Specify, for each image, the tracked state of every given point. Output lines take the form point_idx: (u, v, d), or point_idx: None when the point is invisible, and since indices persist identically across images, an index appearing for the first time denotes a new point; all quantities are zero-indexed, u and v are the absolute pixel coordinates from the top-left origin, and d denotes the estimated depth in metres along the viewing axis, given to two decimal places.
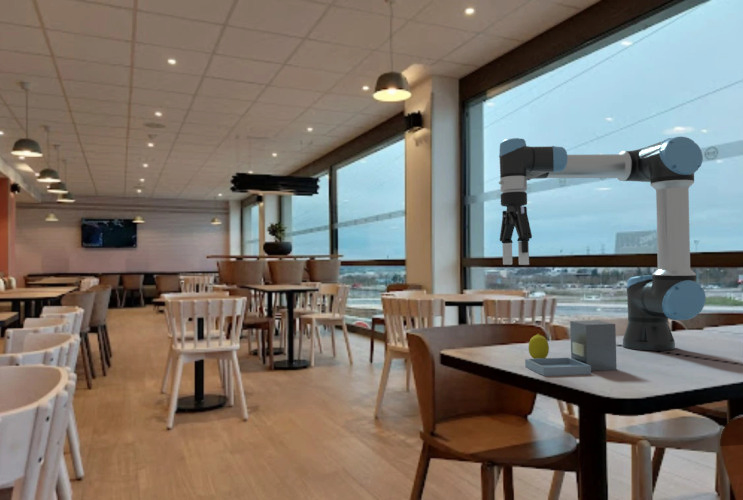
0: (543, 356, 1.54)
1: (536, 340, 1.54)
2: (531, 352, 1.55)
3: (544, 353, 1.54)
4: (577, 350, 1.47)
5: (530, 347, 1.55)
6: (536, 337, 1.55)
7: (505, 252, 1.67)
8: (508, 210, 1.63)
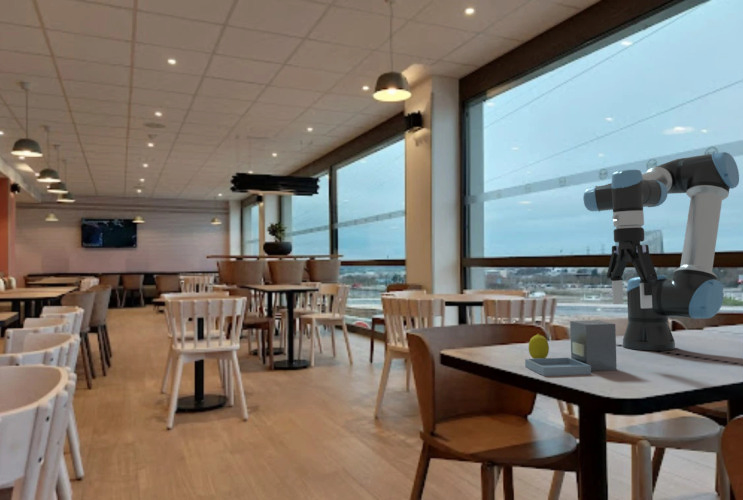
0: (543, 356, 1.54)
1: (536, 340, 1.54)
2: (531, 352, 1.55)
3: (544, 353, 1.54)
4: (577, 350, 1.47)
5: (530, 347, 1.55)
6: (536, 337, 1.55)
7: (616, 290, 1.55)
8: (622, 246, 1.51)
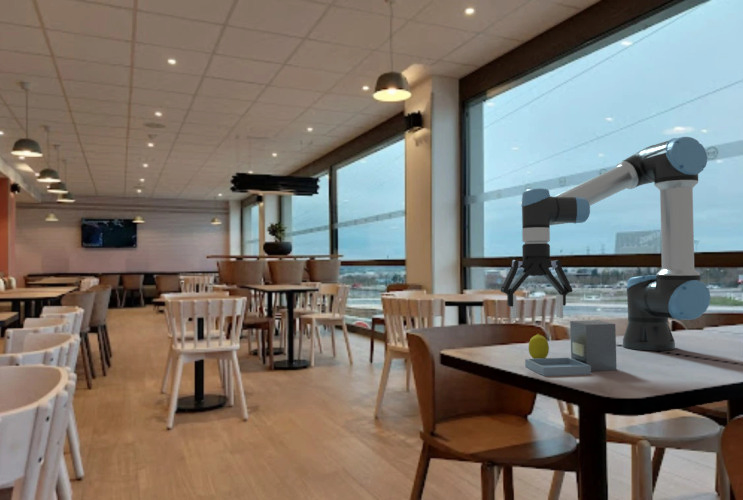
0: (543, 356, 1.54)
1: (536, 340, 1.54)
2: (531, 352, 1.55)
3: (544, 353, 1.54)
4: (577, 350, 1.47)
5: (530, 347, 1.55)
6: (536, 337, 1.55)
7: (557, 304, 1.58)
8: None
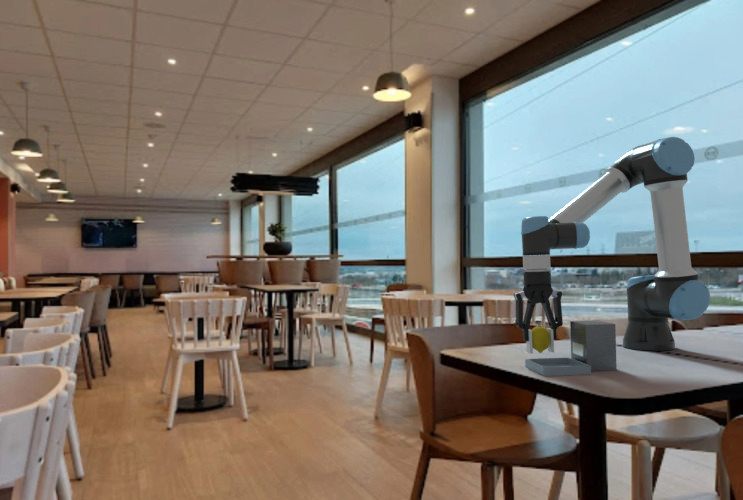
0: (544, 347, 1.54)
1: (537, 331, 1.55)
2: (532, 343, 1.55)
3: (545, 344, 1.54)
4: (577, 350, 1.47)
5: None
6: (537, 328, 1.55)
7: None
8: None
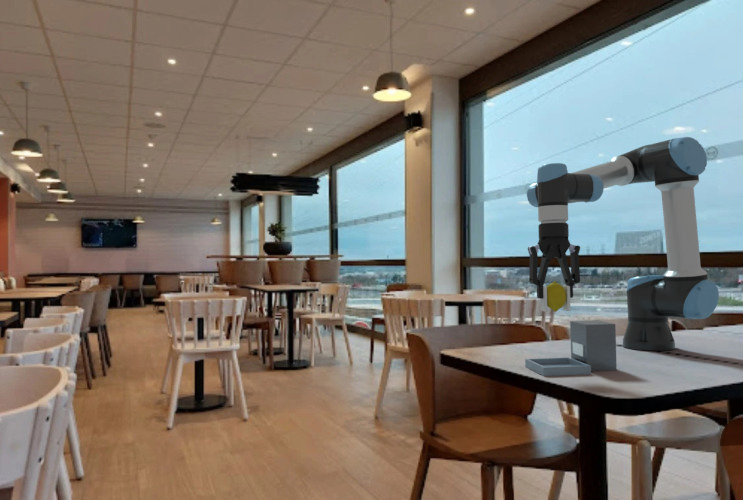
0: (560, 304, 1.42)
1: (552, 287, 1.43)
2: (547, 300, 1.43)
3: (561, 301, 1.42)
4: (577, 350, 1.47)
5: None
6: (552, 284, 1.44)
7: None
8: None
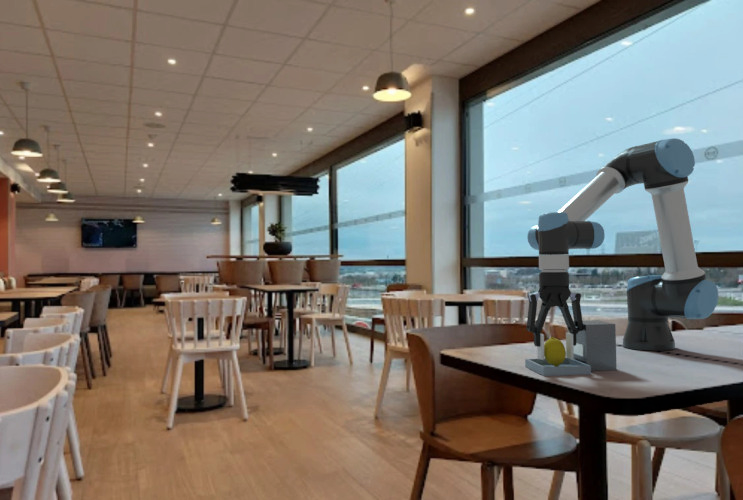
0: (560, 361, 1.42)
1: (551, 344, 1.43)
2: (547, 357, 1.43)
3: (561, 358, 1.42)
4: (577, 350, 1.47)
5: (545, 352, 1.43)
6: (551, 341, 1.43)
7: (567, 343, 1.45)
8: None
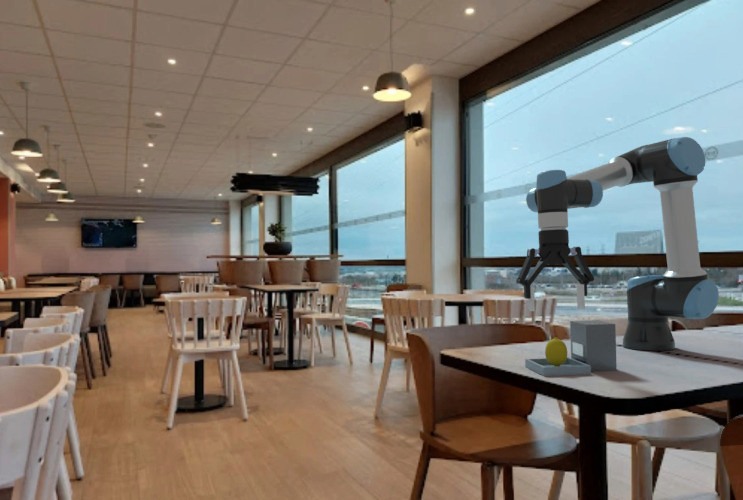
0: (561, 361, 1.42)
1: (554, 344, 1.43)
2: (548, 357, 1.43)
3: (562, 358, 1.42)
4: (577, 350, 1.47)
5: (547, 352, 1.43)
6: (554, 341, 1.43)
7: (578, 294, 1.46)
8: None
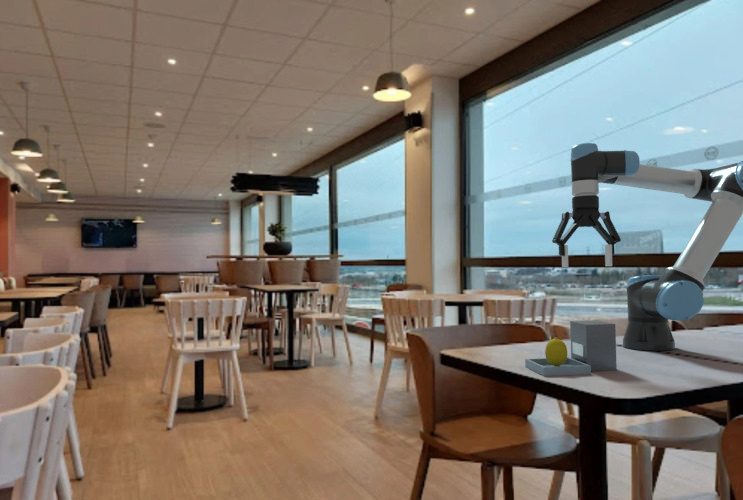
0: (561, 361, 1.42)
1: (554, 344, 1.43)
2: (548, 357, 1.43)
3: (562, 358, 1.42)
4: (577, 350, 1.47)
5: (547, 352, 1.43)
6: (554, 341, 1.43)
7: (606, 253, 1.66)
8: None
